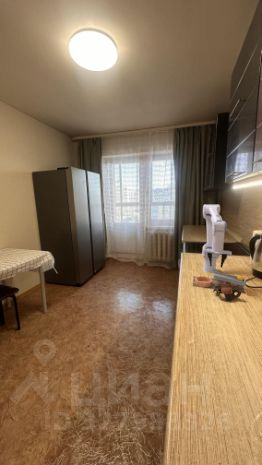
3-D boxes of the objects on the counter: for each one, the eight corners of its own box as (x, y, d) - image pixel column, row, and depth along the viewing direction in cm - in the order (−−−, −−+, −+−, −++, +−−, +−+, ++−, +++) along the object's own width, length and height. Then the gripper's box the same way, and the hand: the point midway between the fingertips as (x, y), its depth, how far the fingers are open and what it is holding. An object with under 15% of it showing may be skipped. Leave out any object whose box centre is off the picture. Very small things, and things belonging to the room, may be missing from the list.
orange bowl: (195, 279, 116) (195, 275, 116) (211, 281, 113) (211, 277, 113) (194, 285, 108) (195, 281, 108) (211, 288, 105) (212, 283, 105)
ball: (235, 277, 106) (238, 273, 105) (241, 280, 105) (244, 276, 104) (236, 280, 103) (239, 275, 102) (242, 283, 102) (245, 278, 102)
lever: (211, 272, 118) (213, 265, 117) (239, 279, 113) (241, 272, 112) (212, 281, 106) (214, 274, 105) (244, 289, 101) (246, 281, 100)
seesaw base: (193, 277, 121) (194, 270, 120) (241, 283, 112) (241, 276, 112) (192, 287, 108) (192, 280, 107) (245, 295, 100) (246, 287, 99)
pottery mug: (215, 303, 93) (211, 285, 96) (216, 303, 101) (212, 286, 104) (244, 302, 89) (239, 283, 91) (242, 301, 97) (238, 284, 100)
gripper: (203, 243, 110) (202, 267, 112) (233, 245, 105) (231, 270, 107) (203, 240, 116) (202, 263, 119) (231, 242, 111) (229, 266, 114)
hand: (216, 266), depth 113 cm, fingers open, 5 cm apart
